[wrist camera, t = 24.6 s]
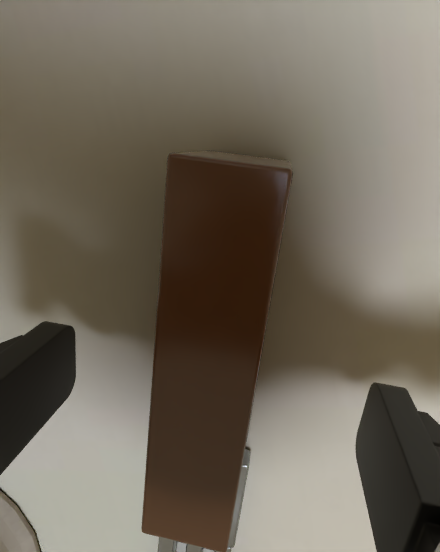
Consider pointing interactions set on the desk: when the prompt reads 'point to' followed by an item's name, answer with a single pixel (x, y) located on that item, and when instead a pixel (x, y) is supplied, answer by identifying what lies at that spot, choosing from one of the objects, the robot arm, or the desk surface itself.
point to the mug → (15, 529)
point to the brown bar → (209, 341)
